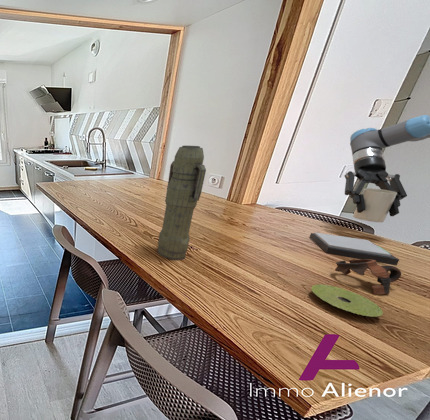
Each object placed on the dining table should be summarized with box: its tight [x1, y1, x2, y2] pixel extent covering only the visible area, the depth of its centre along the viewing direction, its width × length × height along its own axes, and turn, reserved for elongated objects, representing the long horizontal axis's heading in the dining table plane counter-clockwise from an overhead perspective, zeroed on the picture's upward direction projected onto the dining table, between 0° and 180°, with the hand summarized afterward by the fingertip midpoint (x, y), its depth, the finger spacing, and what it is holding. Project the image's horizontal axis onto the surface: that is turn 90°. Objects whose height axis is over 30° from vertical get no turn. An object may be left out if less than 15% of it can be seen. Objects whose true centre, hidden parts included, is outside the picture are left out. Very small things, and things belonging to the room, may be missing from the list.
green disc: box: [310, 283, 384, 318], centre depth 58 cm, size 11×11×2 cm
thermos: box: [156, 145, 207, 261], centre depth 76 cm, size 9×12×35 cm
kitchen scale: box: [309, 231, 400, 266], centre depth 85 cm, size 16×14×3 cm
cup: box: [352, 187, 397, 223], centre depth 90 cm, size 7×7×11 cm
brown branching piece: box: [334, 258, 402, 295], centre depth 66 cm, size 12×10×8 cm
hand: (377, 212), depth 88 cm, fingers closed on cup, 7 cm apart
